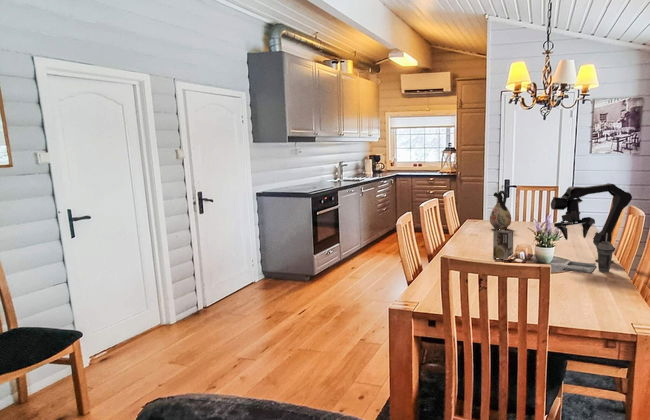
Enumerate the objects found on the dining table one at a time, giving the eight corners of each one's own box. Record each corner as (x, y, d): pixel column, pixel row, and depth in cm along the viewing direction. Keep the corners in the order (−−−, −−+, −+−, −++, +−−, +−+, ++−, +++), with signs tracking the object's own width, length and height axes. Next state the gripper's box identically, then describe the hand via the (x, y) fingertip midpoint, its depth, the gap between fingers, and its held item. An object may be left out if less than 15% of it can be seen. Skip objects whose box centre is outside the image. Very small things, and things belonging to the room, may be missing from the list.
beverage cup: (609, 269, 227) (612, 231, 225) (614, 273, 221) (617, 234, 218) (593, 269, 229) (595, 230, 227) (598, 273, 223) (600, 233, 220)
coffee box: (513, 259, 253) (514, 231, 251) (507, 261, 249) (508, 233, 247) (498, 256, 260) (498, 229, 258) (492, 258, 256) (493, 231, 254)
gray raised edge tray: (596, 266, 233) (596, 266, 233) (591, 273, 222) (591, 272, 222) (568, 263, 241) (568, 262, 241) (562, 269, 231) (562, 268, 231)
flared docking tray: (595, 266, 234) (596, 263, 233) (590, 273, 222) (590, 269, 222) (568, 263, 242) (568, 259, 241) (562, 269, 230) (562, 266, 230)
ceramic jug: (485, 228, 344) (485, 189, 340) (501, 226, 349) (502, 188, 344) (499, 232, 328) (500, 191, 324) (517, 230, 333) (518, 190, 328)
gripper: (547, 210, 242) (549, 238, 238) (583, 204, 227) (586, 234, 223) (558, 213, 248) (560, 241, 244) (594, 208, 233) (596, 237, 229)
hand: (575, 238), depth 235 cm, fingers open, 9 cm apart
